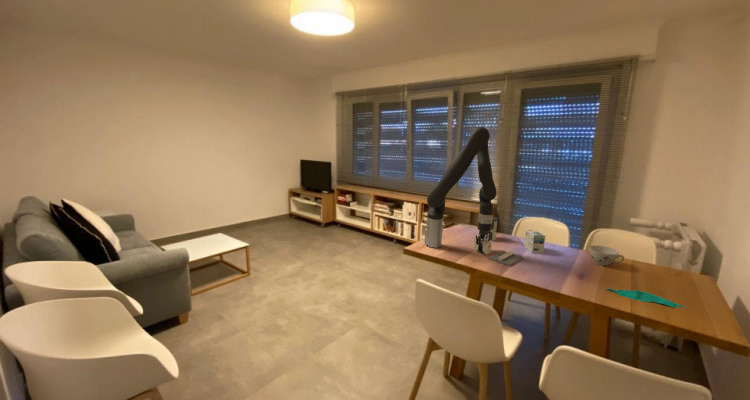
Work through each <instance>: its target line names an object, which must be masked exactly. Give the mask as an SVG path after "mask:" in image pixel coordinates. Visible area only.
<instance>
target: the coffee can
mask: <svg viewBox="0 0 750 400" xmlns="http://www.w3.org/2000/svg"><path fill="white" fill-rule="evenodd" d="M492 217H493V219H492V229H491V232H492V234H491V238H490V242H495V241H496V235H497V225H498V220H499V219H498V217H496V216H494V215H492ZM481 240H483V239H481Z"/></svg>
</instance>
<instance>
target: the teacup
mask: <svg viewBox="0 0 750 400" xmlns="http://www.w3.org/2000/svg"><path fill="white" fill-rule="evenodd" d="M589 254H590V257H591V259H592V260H593V261H594V263H595V264H597V265H599V266H604V265H606V266H605V267H607V266H609V265H610V264H613V263H615V264H618V263H619V264H620V263H622V262H624V261H625V256H624V254H619V251H618V250H616V248H612V247H609V246H604V245H590V246H589ZM618 258H622V259H621V260H617V259H618Z"/></svg>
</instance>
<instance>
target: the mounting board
mask: <svg viewBox="0 0 750 400" xmlns="http://www.w3.org/2000/svg"><path fill="white" fill-rule="evenodd" d="M507 252H508V251H505V250H501V251H499V252H496V253H495V254H493V255H490V256H488V258H487V259H488V260H490V261H491V262H495V263H498V264H502V265H505V266H508V267H512V266H514V265H516V264H517V263H519V262H520V261H522V260H524V259H525V256H522V255H518V254H516V253H514V255H512V256H510V257H508V258H507V259H505V260H503V261H500V260H498V258H497V257H499V256H501V255H503V254H505V253H507Z"/></svg>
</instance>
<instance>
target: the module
mask: <svg viewBox="0 0 750 400" xmlns="http://www.w3.org/2000/svg"><path fill="white" fill-rule="evenodd" d="M481 243H482V241H481ZM492 243H493V242H492V241H490V242H488V241H484V242H483V245H482V246H483V248H482V252H483V254H485V255H489V254H491V253H492V246H493V245H492ZM478 246H479V245H478V244H476V239H475V240H474V245H473V251H475V252H479V251H478Z"/></svg>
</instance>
